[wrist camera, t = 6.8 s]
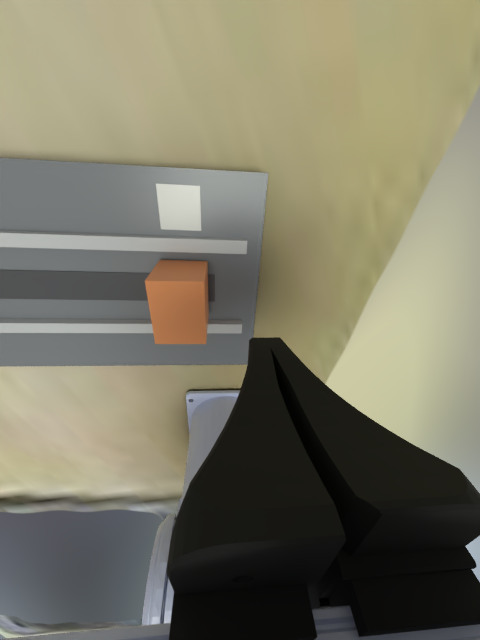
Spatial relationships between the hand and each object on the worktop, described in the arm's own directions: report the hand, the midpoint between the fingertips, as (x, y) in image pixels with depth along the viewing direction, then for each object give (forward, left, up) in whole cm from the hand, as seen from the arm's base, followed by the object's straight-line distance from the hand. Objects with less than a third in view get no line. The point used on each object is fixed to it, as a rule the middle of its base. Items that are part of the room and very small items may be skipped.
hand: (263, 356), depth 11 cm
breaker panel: (0, +10, -9) cm, 14 cm away
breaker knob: (0, +4, -7) cm, 8 cm away
